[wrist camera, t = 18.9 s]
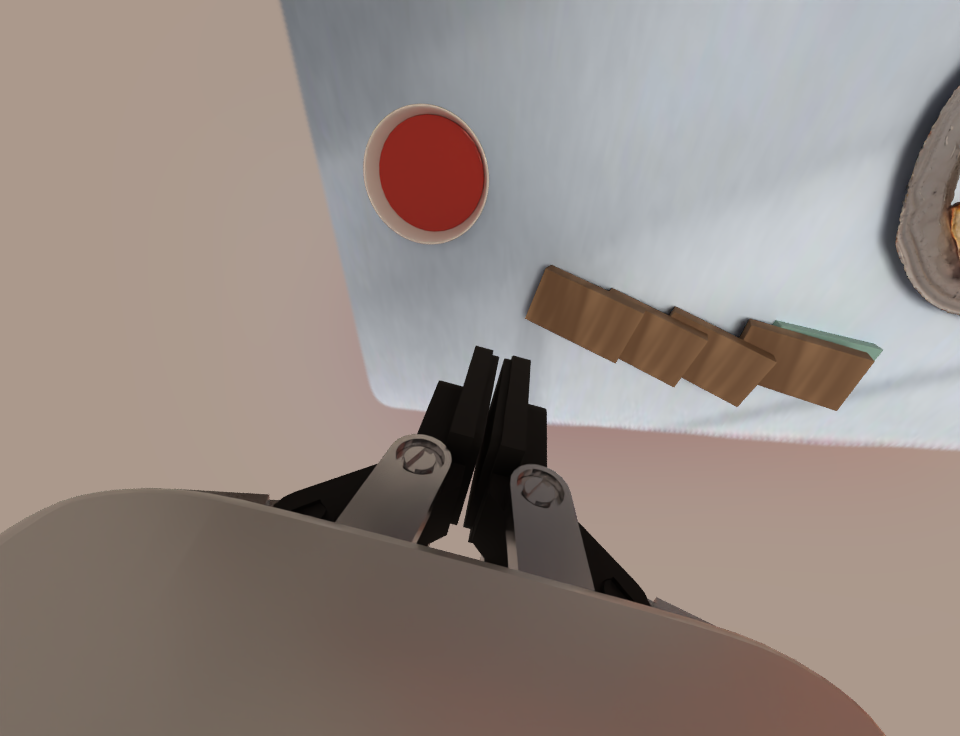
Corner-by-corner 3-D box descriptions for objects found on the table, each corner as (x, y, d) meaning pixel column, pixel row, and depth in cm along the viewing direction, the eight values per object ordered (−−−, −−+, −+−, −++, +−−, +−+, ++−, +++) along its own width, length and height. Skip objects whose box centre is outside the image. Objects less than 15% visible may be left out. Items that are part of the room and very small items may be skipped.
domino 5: (724, 373, 38) (836, 411, 36) (751, 325, 36) (874, 361, 33) (723, 365, 40) (831, 400, 37) (749, 318, 37) (867, 352, 34)
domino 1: (524, 318, 39) (615, 363, 37) (545, 268, 36) (644, 314, 34) (531, 313, 40) (618, 356, 38) (551, 264, 37) (646, 308, 35)
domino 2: (582, 339, 39) (673, 387, 37) (608, 292, 36) (708, 341, 34) (586, 333, 40) (674, 379, 38) (611, 287, 38) (707, 334, 36)
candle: (520, 171, 34) (515, 181, 29) (447, 247, 38) (430, 268, 33) (440, 77, 31) (418, 68, 26) (370, 169, 35) (339, 178, 30)
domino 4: (751, 372, 39) (845, 395, 39) (782, 325, 36) (883, 350, 36) (743, 363, 40) (834, 385, 40) (772, 317, 38) (869, 340, 38)
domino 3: (643, 357, 39) (737, 407, 37) (674, 311, 36) (777, 362, 34) (645, 350, 40) (735, 398, 38) (675, 306, 38) (773, 355, 36)
